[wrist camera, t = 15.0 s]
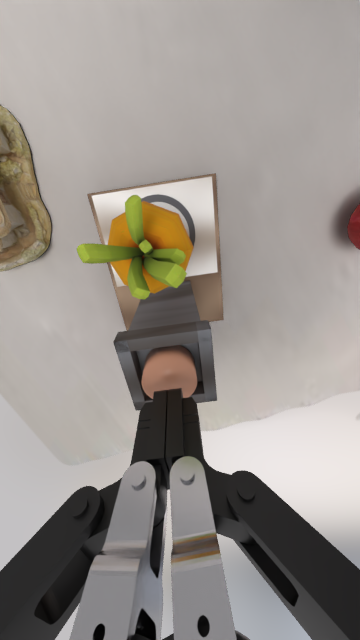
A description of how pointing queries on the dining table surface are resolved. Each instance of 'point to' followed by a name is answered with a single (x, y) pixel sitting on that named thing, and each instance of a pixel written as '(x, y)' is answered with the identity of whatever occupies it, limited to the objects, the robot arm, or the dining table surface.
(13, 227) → the ceramic model
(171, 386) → the button
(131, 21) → the dining table surface
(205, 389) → the dispenser stand
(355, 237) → the onion
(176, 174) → the dining table surface
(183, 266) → the carrot
